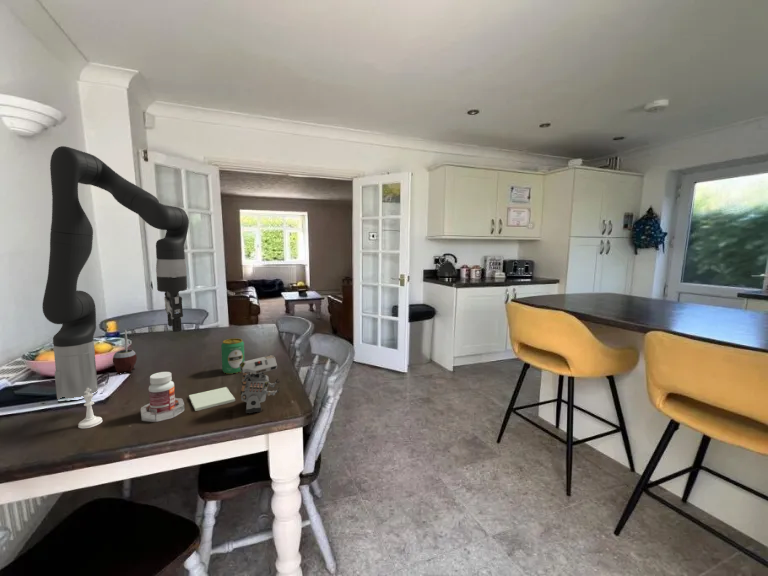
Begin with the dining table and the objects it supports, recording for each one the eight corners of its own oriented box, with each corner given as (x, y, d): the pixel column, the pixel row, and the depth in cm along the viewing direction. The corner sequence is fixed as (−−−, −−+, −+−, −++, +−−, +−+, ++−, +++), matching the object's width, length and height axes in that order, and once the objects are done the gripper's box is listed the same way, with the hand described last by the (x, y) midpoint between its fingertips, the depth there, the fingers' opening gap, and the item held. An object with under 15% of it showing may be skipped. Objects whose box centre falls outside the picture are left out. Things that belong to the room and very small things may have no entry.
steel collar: (142, 425, 89) (141, 418, 89) (140, 410, 97) (140, 403, 97) (186, 414, 96) (185, 407, 95) (181, 401, 104) (180, 395, 103)
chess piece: (107, 419, 92) (104, 384, 91) (92, 428, 87) (89, 392, 86) (88, 418, 92) (85, 384, 91) (73, 428, 87) (69, 391, 86)
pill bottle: (176, 414, 96) (174, 376, 94) (149, 420, 92) (147, 380, 91) (175, 405, 101) (173, 369, 99) (150, 410, 97) (148, 373, 96)
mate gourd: (122, 376, 122) (119, 336, 120) (107, 373, 124) (104, 334, 123) (142, 369, 129) (140, 331, 127) (128, 367, 131) (126, 329, 130)
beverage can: (225, 376, 124) (224, 344, 123) (219, 369, 130) (218, 340, 129) (247, 371, 129) (246, 341, 128) (241, 365, 135) (240, 336, 134)
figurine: (281, 409, 100) (280, 361, 98) (239, 415, 96) (238, 365, 94) (279, 396, 108) (278, 351, 106) (241, 401, 104) (239, 355, 102)
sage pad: (195, 411, 98) (195, 408, 97) (189, 397, 106) (189, 395, 106) (235, 401, 104) (235, 398, 104) (226, 389, 113) (226, 386, 113)
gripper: (153, 273, 101) (156, 325, 103) (159, 277, 91) (163, 335, 92) (182, 272, 106) (184, 322, 108) (191, 276, 95) (193, 331, 97)
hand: (174, 328), depth 100 cm, fingers open, 8 cm apart
